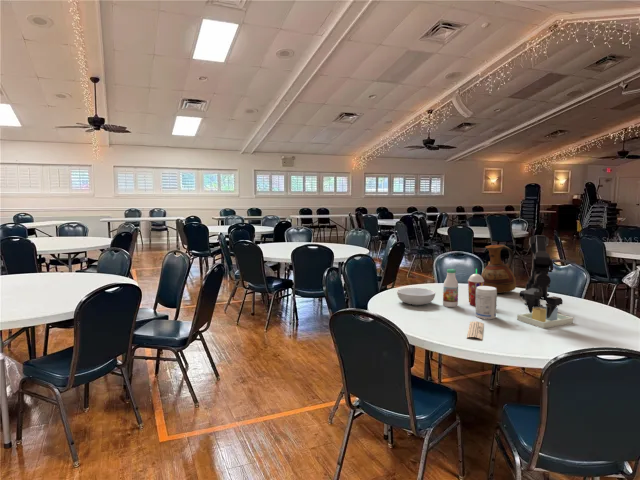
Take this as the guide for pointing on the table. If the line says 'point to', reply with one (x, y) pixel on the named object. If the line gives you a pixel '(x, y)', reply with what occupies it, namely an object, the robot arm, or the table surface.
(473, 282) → the smoothie
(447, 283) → the milk bottle
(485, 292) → the supplement tub
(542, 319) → the ochre block
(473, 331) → the newspaper
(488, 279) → the ceramic pitcher
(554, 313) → the slate block
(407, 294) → the serving bowl
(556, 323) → the tray
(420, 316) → the table surface
